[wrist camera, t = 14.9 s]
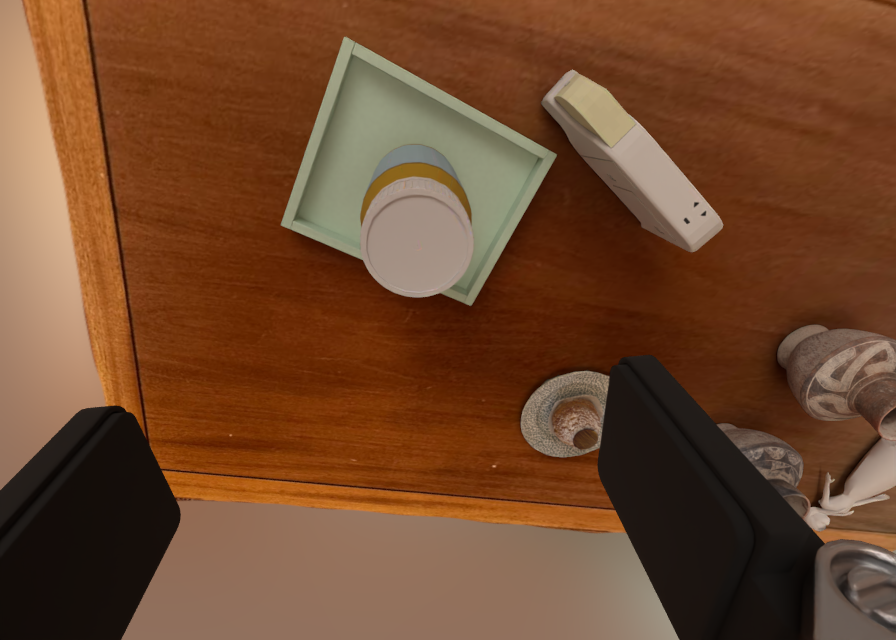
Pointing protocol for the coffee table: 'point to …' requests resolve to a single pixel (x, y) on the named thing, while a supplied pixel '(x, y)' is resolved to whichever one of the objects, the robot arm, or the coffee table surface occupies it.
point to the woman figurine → (858, 485)
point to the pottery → (825, 397)
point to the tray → (400, 123)
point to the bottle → (416, 223)
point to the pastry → (566, 414)
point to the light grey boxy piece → (631, 162)
